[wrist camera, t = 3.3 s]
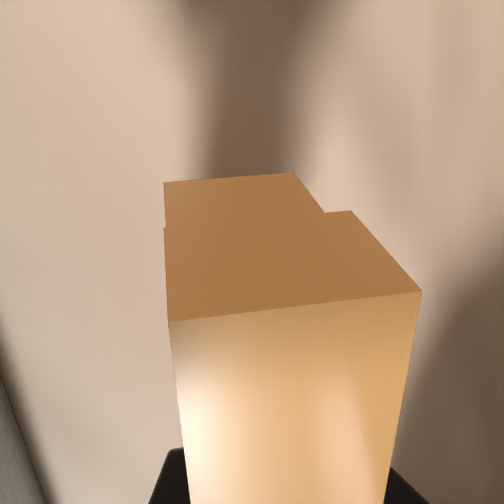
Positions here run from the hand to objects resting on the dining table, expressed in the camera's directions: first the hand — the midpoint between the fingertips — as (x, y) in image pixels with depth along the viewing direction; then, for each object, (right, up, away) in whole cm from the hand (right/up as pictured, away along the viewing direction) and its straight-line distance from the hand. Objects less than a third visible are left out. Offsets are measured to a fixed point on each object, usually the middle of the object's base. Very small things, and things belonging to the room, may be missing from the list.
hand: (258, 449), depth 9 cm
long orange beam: (0, +1, +2) cm, 3 cm away
